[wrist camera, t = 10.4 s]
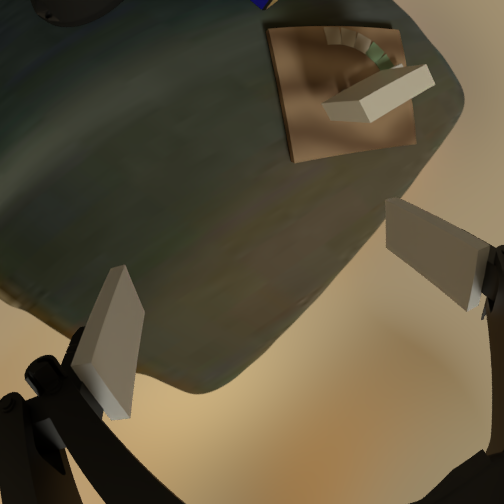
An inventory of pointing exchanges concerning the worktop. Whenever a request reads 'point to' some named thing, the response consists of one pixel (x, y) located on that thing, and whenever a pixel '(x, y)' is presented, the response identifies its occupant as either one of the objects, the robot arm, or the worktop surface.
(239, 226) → the worktop surface
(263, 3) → the puzzle cube
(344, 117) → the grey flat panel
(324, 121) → the brown square board
